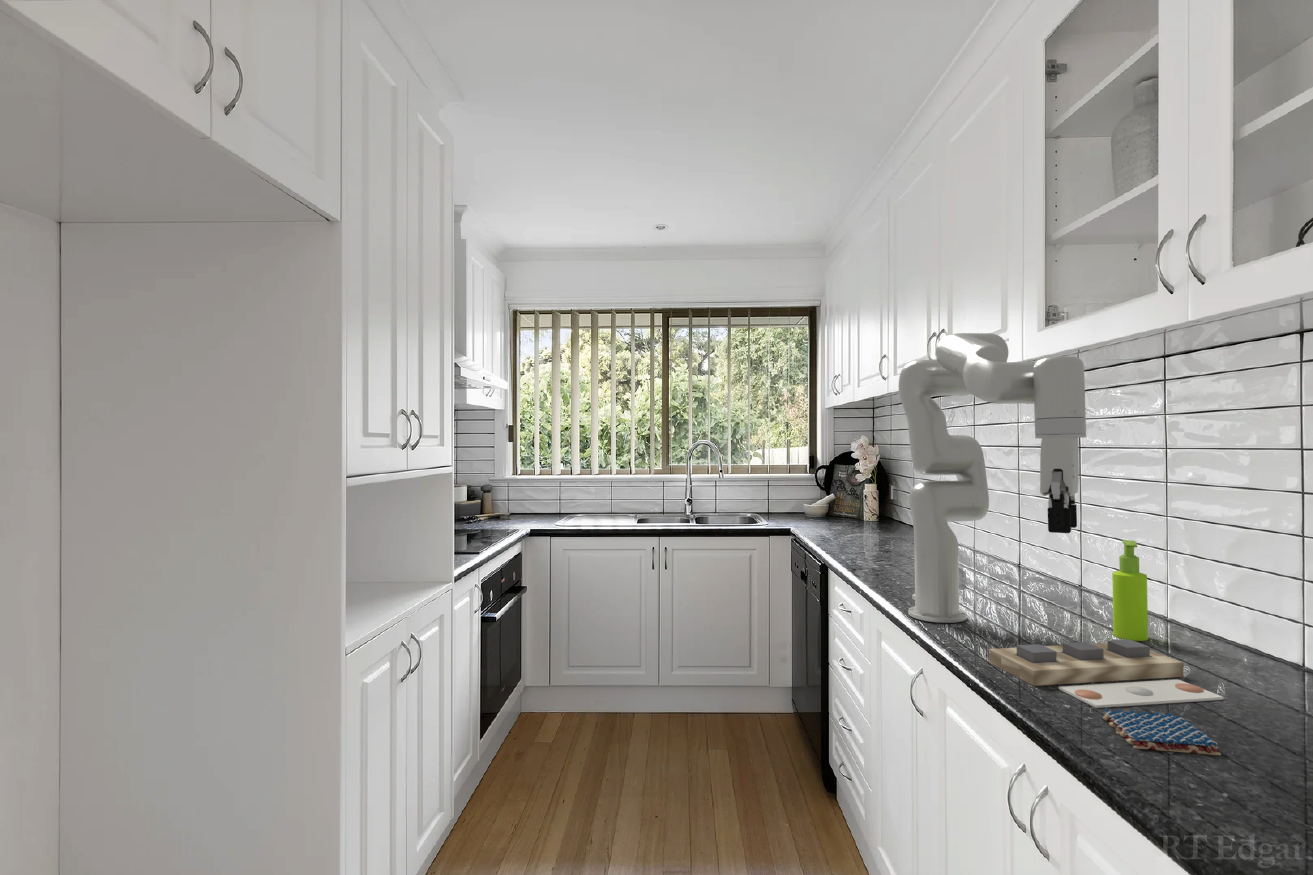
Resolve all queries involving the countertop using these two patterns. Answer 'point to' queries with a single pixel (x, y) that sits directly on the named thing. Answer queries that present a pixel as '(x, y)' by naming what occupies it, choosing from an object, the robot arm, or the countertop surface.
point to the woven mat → (1160, 732)
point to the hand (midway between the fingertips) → (1063, 529)
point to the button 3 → (1128, 648)
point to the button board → (1085, 667)
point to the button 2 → (1083, 651)
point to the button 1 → (1036, 653)
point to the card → (1139, 693)
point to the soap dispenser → (1130, 597)
